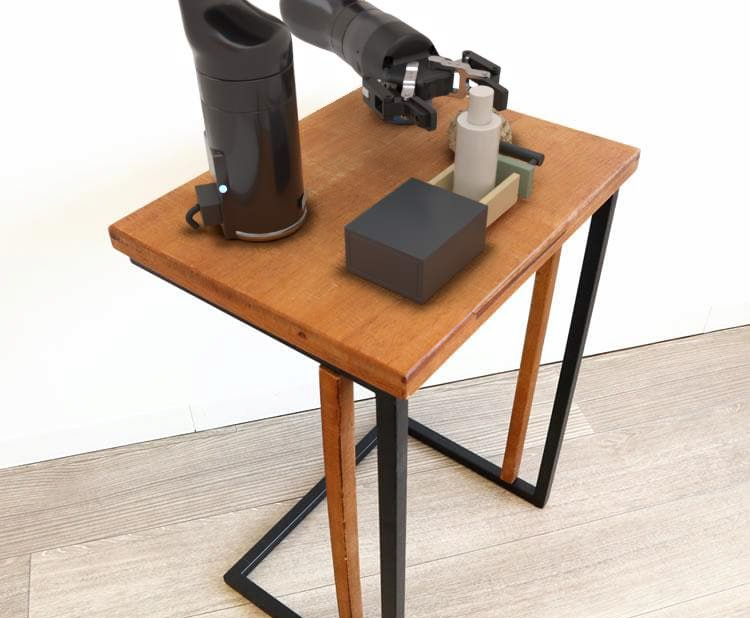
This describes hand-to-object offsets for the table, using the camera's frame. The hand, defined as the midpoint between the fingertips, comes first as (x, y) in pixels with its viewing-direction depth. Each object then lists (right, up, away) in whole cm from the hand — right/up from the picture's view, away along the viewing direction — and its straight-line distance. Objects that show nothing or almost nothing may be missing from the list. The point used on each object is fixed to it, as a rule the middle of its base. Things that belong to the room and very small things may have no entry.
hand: (470, 112), depth 84 cm
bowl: (-6, +7, +24) cm, 26 cm away
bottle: (+1, -8, +5) cm, 9 cm away
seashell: (+3, +1, +17) cm, 18 cm away
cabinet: (-5, -15, +1) cm, 16 cm away
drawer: (+3, -7, +7) cm, 10 cm away
